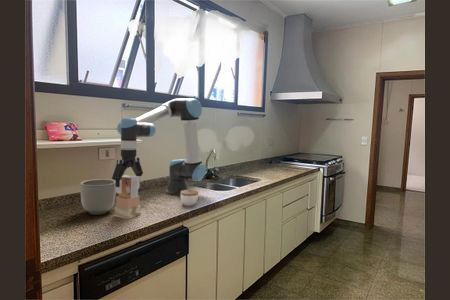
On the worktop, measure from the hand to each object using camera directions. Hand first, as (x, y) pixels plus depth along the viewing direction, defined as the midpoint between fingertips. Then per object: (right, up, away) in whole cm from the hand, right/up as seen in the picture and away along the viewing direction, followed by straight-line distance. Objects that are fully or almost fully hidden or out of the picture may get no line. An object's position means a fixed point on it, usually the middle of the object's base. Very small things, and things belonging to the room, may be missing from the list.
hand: (128, 190), depth 144 cm
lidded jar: (+28, -12, +25) cm, 39 cm away
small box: (0, -3, 0) cm, 3 cm away
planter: (-17, -12, +4) cm, 21 cm away
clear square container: (-1, -13, +1) cm, 13 cm away
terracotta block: (-1, -8, +1) cm, 8 cm away
